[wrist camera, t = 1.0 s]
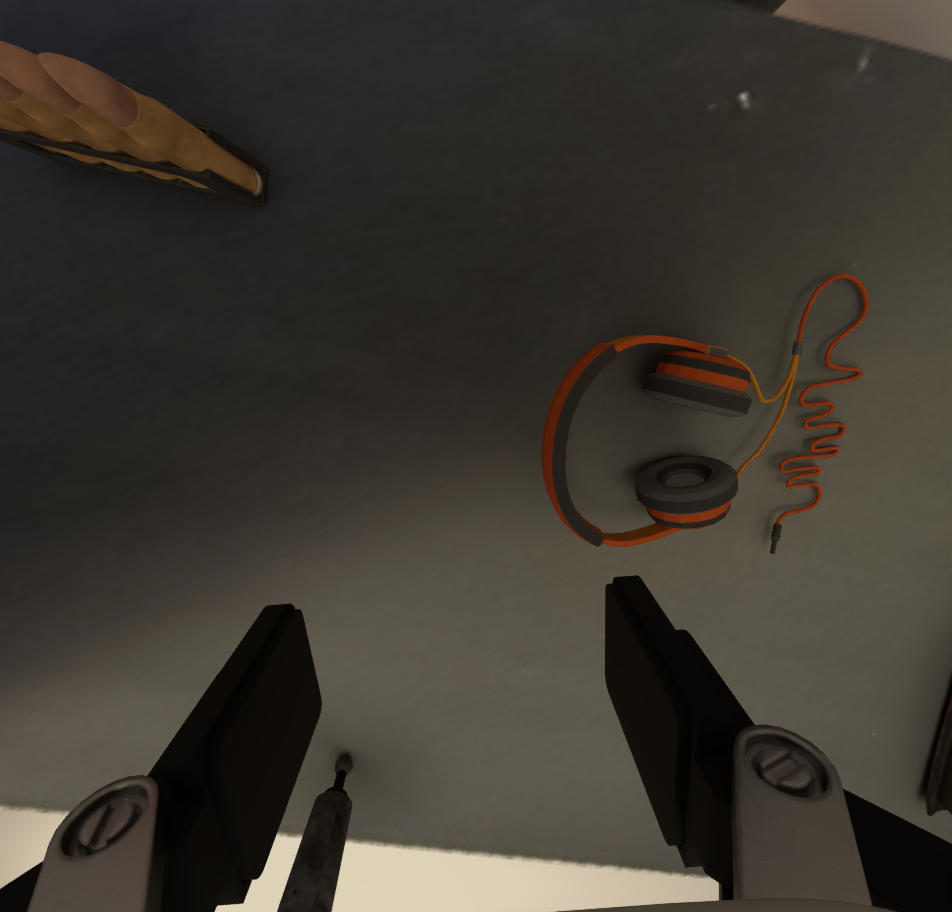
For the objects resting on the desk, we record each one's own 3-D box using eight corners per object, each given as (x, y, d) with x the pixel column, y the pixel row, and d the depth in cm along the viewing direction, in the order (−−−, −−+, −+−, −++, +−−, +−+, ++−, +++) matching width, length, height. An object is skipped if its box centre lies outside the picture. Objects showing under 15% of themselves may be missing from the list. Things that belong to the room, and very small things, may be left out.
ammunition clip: (267, 167, 23) (76, 23, 12) (265, 207, 24) (80, 106, 12) (46, 117, 22) (-391, -91, 11) (49, 159, 23) (-366, 3, 11)
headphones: (836, 277, 28) (527, 279, 23) (940, 268, 23) (575, 269, 18) (787, 527, 33) (525, 570, 28) (863, 564, 28) (561, 624, 23)
